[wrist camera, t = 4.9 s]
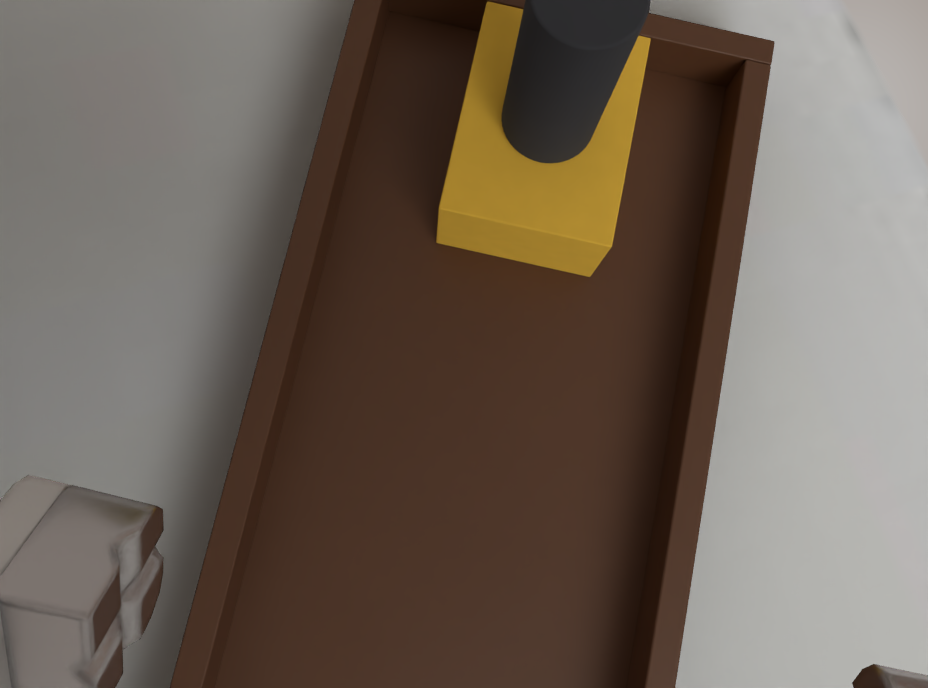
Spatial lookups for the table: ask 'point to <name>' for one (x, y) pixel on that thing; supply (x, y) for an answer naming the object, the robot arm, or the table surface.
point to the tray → (480, 395)
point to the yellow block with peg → (546, 132)
